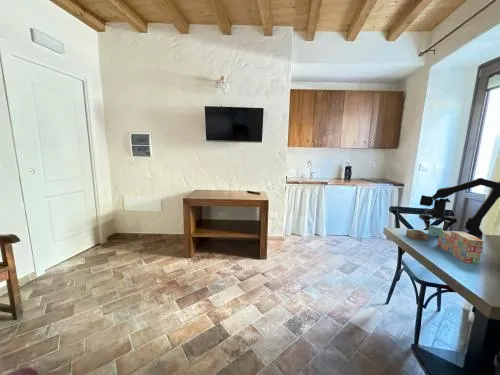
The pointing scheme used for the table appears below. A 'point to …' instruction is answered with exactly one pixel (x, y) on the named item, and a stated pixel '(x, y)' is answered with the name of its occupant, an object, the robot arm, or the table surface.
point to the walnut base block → (417, 234)
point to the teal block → (434, 230)
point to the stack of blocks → (461, 245)
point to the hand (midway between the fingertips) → (435, 230)
